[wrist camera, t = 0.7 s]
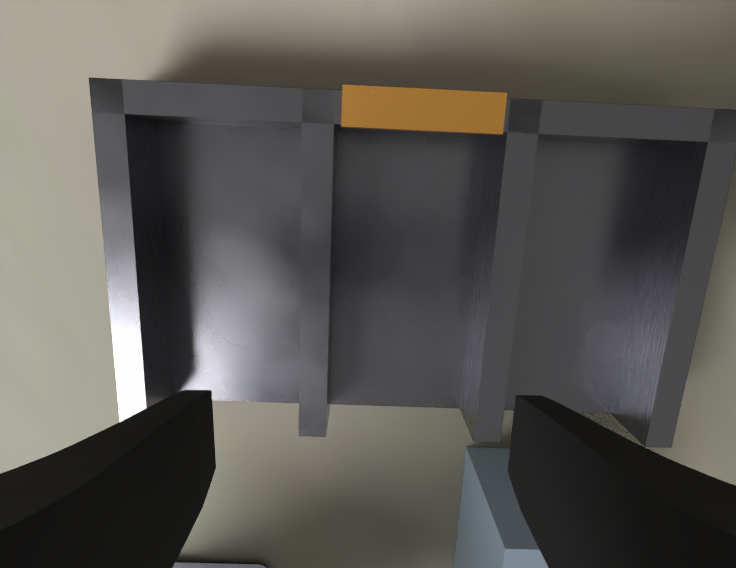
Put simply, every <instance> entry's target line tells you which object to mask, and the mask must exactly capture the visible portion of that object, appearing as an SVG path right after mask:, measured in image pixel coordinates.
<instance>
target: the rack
mask: <svg viewBox="0 0 736 568" xmlns="http://www.w3.org/2000/svg"><path fill="white" fill-rule="evenodd" d="M89 85H90V96H91V108H92V119H93V130H94V141H95V152H96V163H97V174H98V186H99V197H100V208H101V219H102V230H103V241H104V252H105V264H106V275H107V286H108V297H109V308H110V319H111V330H112V342H113V353H114V364H115V375H116V386H117V397H118V408H119V420H120V422H121V421H123V420H125V419H127V418H129V417H131V416H133V415H135V414H136V413H138V412H140V411H142V410H144V409H146V408H148V407H150V406H152V405H154V404H155V403H157V402H159V401H161V400H163V399H165V398H167V397H169V396H171V395H174V394H176V393H178V392H181V391H183V390H211V391H212V400H223V401H253V402H284V403H299V436H314V437H326V432H327V424H328V417H329V409H330V404H345V405H375V406H406V407H436V408H460V410H461V413H462V415H463V417H464V420H465V422H466V425H467V427H468V429H469V432H470V434H471V437H472V439H473V441H475V442H500V440H501V432H502V424H503V415H504V410H514V407H515V398H516V395H541V396H544V397H547V398H549V399H552V400H554V401H556V402H558V403H560V404H562V405H564V406H566V407H568V408H570V409H572V410H573V411H575V412H589V413H611V414H612V415H613V416H614V417H615V418H616V419H617V420H618V421H619V422H620V423H621V424H622V425H623V426H624V427H625V428H626V429H627V430H628V431H629V432H630V433H631V434H632V435H633V436H634V437H636V438H637V439H638V440H639V441H640V442H641V443H642V444H643V445H644V446H645V447H669V448H671V446H672V442H673V437H674V433H675V428H676V424H677V419H678V415H679V410H680V406H681V401H682V397H683V392H684V388H685V383H686V379H687V374H688V370H689V365H690V361H691V356H692V352H693V347H694V343H695V338H696V334H697V329H698V325H699V320H700V315H701V311H702V306H703V302H704V297H705V293H706V288H707V284H708V279H709V275H710V270H711V266H712V261H713V257H714V252H715V248H716V243H717V239H718V234H719V230H720V225H721V221H722V216H723V212H724V207H725V203H726V198H727V194H728V189H729V185H730V180H731V176H732V171H733V167H734V162H735V158H736V110H727V109H707V108H687V107H667V106H647V105H627V104H607V103H587V102H567V101H547V100H527V99H507V93H502V92H482V91H462V90H442V89H422V88H402V87H382V86H362V85H342V90H326V89H306V88H286V87H266V86H246V85H226V84H206V83H186V82H166V81H145V80H125V79H105V78H89Z"/></svg>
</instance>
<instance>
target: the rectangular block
mask: <svg viewBox="0 0 736 568" xmlns="http://www.w3.org/2000/svg"><path fill="white" fill-rule="evenodd" d="M509 454H510V448H487V447H466V454H465V463H464V473H463V482H462V492H461V501H460V511H459V520H458V530H457V539H456V549H455V558H454V568H548V566H547V564H546V562H545V559H544V557H543V555H542V553H541V551H540V549H539V547H538V545H537V543H536V541H535V539H534V537H533V535H532V533H531V531H530V529H529V527H528V525H527V523H526V521H525V519H524V516H523V514H522V512H521V510H520V507H519V504H518V501H517V499H516V496H515V493H514V490H513V487H512V483H511V480H510V477H509V474H508V463H509Z"/></svg>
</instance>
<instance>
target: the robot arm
mask: <svg viewBox="0 0 736 568" xmlns="http://www.w3.org/2000/svg"><path fill="white" fill-rule="evenodd" d="M215 468H216V463H215V445H214V427H213V409H212V391H211V390H183V391H181V392H178V393H176V394H174V395H171V396H169V397H167V398H165V399H163V400H161V401H159V402H157V403H155V404H154V405H152V406H150V407H148V408H146V409H144V410H142V411H140V412H138V413H136V414H135V415H133V416H131V417H129V418H127V419H125V420H123V421H121V422H119V423H117V424H115V425H113V426H111V427H109V428H107V429H105V430H103V431H101V432H99V433H97V434H95V435H92V436H90V437H88V438H86V439H84V440H82V441H80V442H78V443H76V444H74V445H72V446H69V447H67V448H65V449H63V450H60V451H58V452H56V453H53V454H51V455H48V456H46V457H44V458H41V459H38V460H36V461H33V462H31V463H28V464H26V465H23V466H20V467H18V468H15V469H13V470H10V471H7V472H4V473H1V474H0V568H267V567H265V566H263V565H258V564H216V563H175V562H176V560H177V558H178V556H179V554H180V552H181V550H182V548H183V546H184V544H185V542H186V540H187V538H188V536H189V534H190V532H191V530H192V528H193V525H194V523H195V521H196V519H197V517H198V515H199V513H200V511H201V509H202V507H203V504H204V501H205V498H206V496H207V493H208V490H209V487H210V484H211V481H212V478H213V475H214V471H215ZM508 474H509V477H510V480H511V483H512V487H513V490H514V493H515V496H516V499H517V501H518V504H519V507H520V510H521V512H522V514H523V516H524V519H525V521H526V523H527V525H528V527H529V529H530V531H531V533H532V535H533V537H534V539H535V541H536V543H537V545H538V547H539V549H540V551H541V553H542V555H543V557H544V559H545V562H546V564H547V566H548V568H736V486H735V485H732V484H729V483H727V482H724V481H721V480H718V479H716V478H714V477H711V476H709V475H706V474H704V473H701V472H699V471H696V470H694V469H691V468H689V467H686V466H684V465H681V464H679V463H677V462H675V461H672V460H670V459H668V458H665V457H663V456H661V455H659V454H657V453H655V452H653V451H651V450H649V449H647V448H644V447H642V446H640V445H638V444H636V443H634V442H632V441H630V440H628V439H626V438H624V437H622V436H620V435H618V434H616V433H614V432H613V431H611V430H609V429H607V428H605V427H603V426H601V425H599V424H598V423H596V422H594V421H592V420H590V419H588V418H586V417H585V416H583V415H581V414H579V413H577V412H575V411H573V410H572V409H570V408H568V407H566V406H564V405H562V404H560V403H558V402H556V401H554V400H552V399H549V398H547V397H544V396H541V395H516V398H515V407H514V417H513V426H512V435H511V444H510V454H509V463H508Z"/></svg>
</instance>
